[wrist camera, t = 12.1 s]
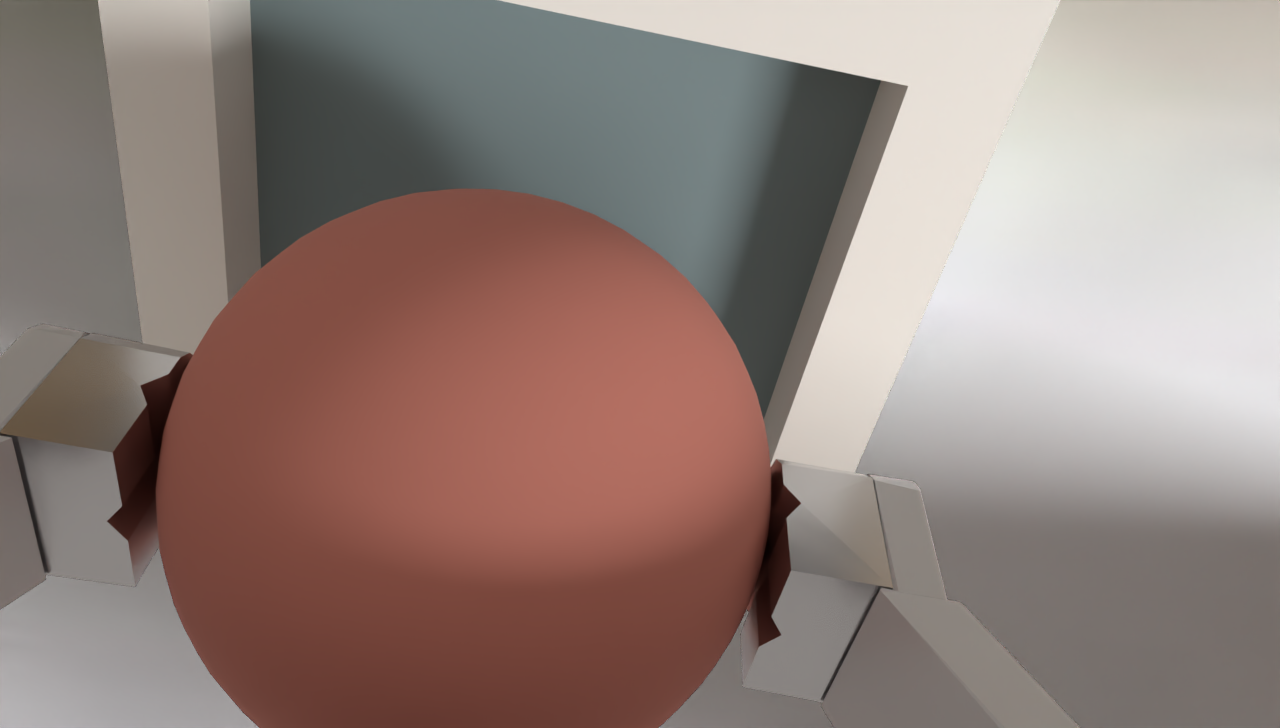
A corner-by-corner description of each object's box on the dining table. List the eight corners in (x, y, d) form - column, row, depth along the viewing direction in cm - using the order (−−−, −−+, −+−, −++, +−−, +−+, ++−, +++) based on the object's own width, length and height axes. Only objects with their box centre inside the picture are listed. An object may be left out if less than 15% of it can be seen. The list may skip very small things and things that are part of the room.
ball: (276, 42, 11) (-65, 387, 6) (819, 151, 11) (901, 556, 6) (287, 450, 14) (78, 871, 10) (700, 522, 15) (695, 961, 10)
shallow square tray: (150, -240, 11) (69, -216, 10) (1018, -49, 12) (1061, -1, 10) (210, 433, 17) (164, 509, 16) (785, 534, 18) (792, 616, 16)
